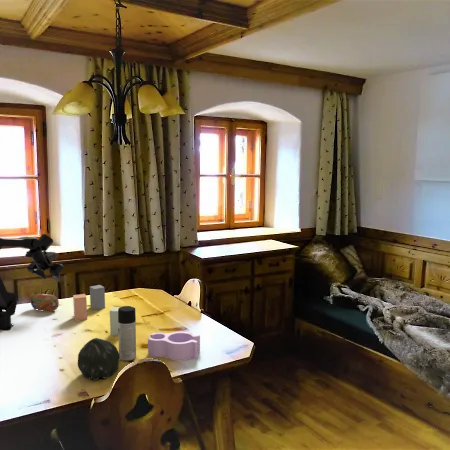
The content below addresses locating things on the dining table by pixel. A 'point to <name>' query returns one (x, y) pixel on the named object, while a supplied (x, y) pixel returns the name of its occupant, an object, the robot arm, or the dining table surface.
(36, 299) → the tin
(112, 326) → the pale grey tall block
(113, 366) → the squash
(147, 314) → the dining table surface
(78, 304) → the salmon pink pillar
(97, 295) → the tall grey pillar
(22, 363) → the dining table surface
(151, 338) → the clip
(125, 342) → the spray can
